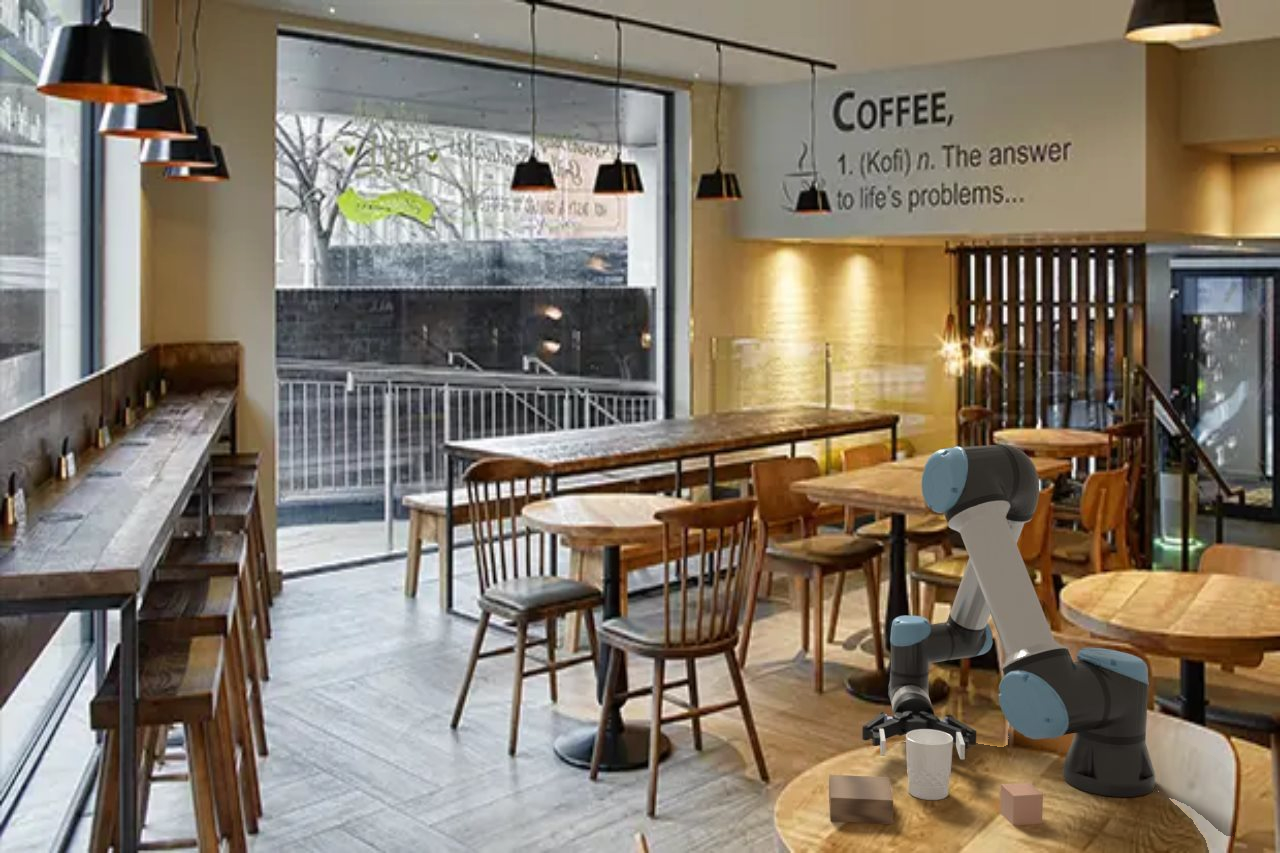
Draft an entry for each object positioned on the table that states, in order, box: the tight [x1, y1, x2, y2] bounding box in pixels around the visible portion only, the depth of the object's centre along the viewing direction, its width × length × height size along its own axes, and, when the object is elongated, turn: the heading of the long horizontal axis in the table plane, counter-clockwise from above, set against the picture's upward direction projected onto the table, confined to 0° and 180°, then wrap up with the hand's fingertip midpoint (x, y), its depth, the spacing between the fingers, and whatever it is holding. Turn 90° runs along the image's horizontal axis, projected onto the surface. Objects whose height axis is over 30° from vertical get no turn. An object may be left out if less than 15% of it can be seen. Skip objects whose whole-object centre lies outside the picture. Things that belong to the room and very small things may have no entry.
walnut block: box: [828, 774, 894, 825], centre depth 212 cm, size 10×10×4 cm
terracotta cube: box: [999, 782, 1044, 826], centre depth 208 cm, size 5×5×5 cm
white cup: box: [905, 729, 954, 801], centre depth 219 cm, size 8×8×10 cm
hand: (922, 750), depth 223 cm, fingers open, 13 cm apart
